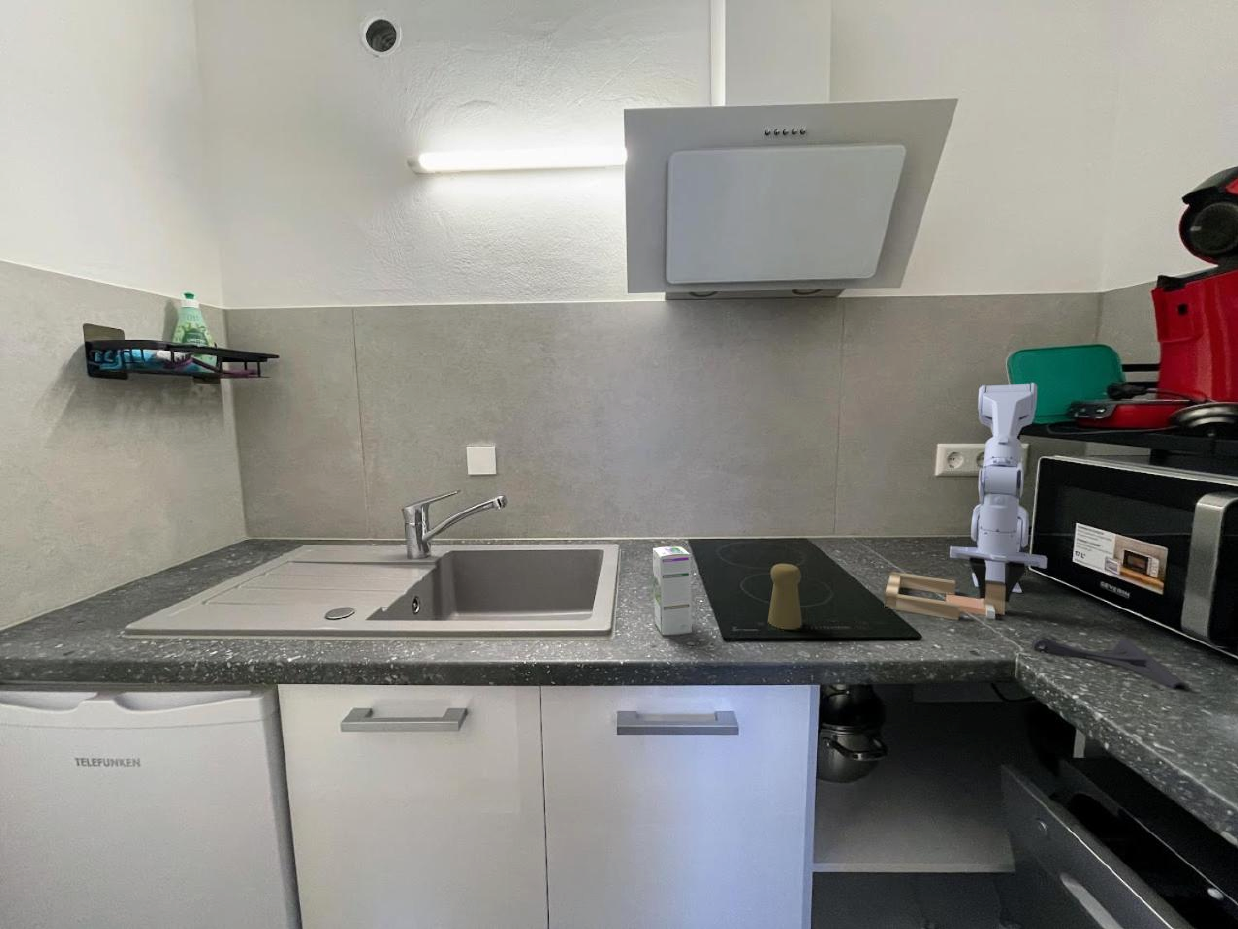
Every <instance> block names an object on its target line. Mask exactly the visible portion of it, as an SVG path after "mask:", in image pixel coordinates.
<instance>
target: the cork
mask: <svg viewBox="0 0 1238 929" xmlns="http://www.w3.org/2000/svg"><path fill="white" fill-rule="evenodd" d="M801 577H802V575H801V571H800V569H799V567H797V566H795V565H793V564H789V563H778V564H775V565H773V566H772V567H771V569H770V578H771V580H772V582H773V585H772V592H771V599H770V604H769V612H768V616H767V623H768V622H769V624H771V625H772V626H774V627H777V628H781V629H795V628H799V627H800V626H801V625H802V626H803V621H802V620H803V619H802V615H801V614H802V612H801V606H800V605H801V604H800V597H799V588H798V585H799V583H800V581H801ZM769 624H768V625H769Z"/></svg>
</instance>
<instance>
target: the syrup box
mask: <svg viewBox="0 0 1238 929" xmlns="http://www.w3.org/2000/svg"><path fill="white" fill-rule="evenodd" d="M691 556H692V555H691V553H690V552H688V551H687V550H686V549H685V548H684V547H682V546H680V545H668V546H667V545H666V546H659V547H658V546H657V547H653V548H652V565H653V566H652V570H653V571H652V573H653V574H652V575H653V576H652V577H653V619H654V620H653V621H654V625H655V626H656V628H657V629H658V631H659V632H660V634H661V636H673V635H674V636H676V635H683V634H692V633H693V630H692V629H693V626H692V624H693V622H692V620H693V619H692V618H693V615H692V613H693V610H692V609H693V608H692V605H693V604H692V603H693V602H692V562H691Z"/></svg>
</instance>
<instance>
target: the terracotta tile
mask: <svg viewBox="0 0 1238 929" xmlns="http://www.w3.org/2000/svg"><path fill="white" fill-rule="evenodd" d="M945 599H946V601H945V602H952V603H958V605H959V612H963V613H964V612H965V613H970V614H976V615H977V614H978V615H981V616H986V609H985V605H984V602H983V599H982V598H975V597H967V596H959V595H956V594H955V595H952V594H946V598H945Z"/></svg>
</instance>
